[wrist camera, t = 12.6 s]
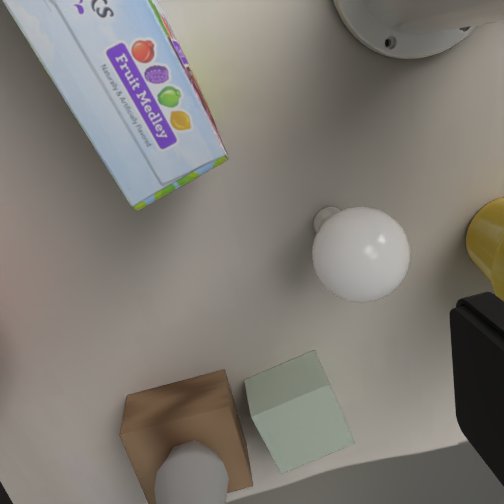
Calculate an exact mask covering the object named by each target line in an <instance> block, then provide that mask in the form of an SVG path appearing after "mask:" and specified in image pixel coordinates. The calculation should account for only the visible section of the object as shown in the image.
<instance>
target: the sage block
mask: <svg viewBox="0 0 504 504" xmlns="http://www.w3.org/2000/svg"><path fill="white" fill-rule="evenodd" d="M244 382H245V387H246V393H247V398H248V403H249V409H250V414H251V418H252V420H253V422H254V424H255V426H256V427H257V429H258V431H259V433H260V435H261V437H262V439H263V441H264V442H265V444H266V446H267V448H268V450H269V452H270V454H271V455H272V457H273V459H274V461H275V463H276V465H277V467H278V469H279V470H280V472H281V474H283V473H285V472H288V471H290V470H293V469H295V468H297V467H300V466H302V465H304V464H307V463H309V462H311V461H314V460H316V459H319V458H321V457H323V456H326V455H328V454H330V453H333V452H335V451H338V450H340V449H342V448H345V447H347V446H349V445H352V444H354V443H355V441H354V439H353V437H352V434H351V432H350V430H349V427H348V425H347V423H346V420H345V418H344V416H343V413H342V411H341V409H340V406H339V404H338V402H337V399H336V397H335V395H334V392H333V390H332V388H331V385H330V383H329V381H328V379H327V377H326V374H325V372H324V370H323V368H322V366H321V364H320V361H319V359H318V357H317V355H316V353H315V350H313V351H311V352H308V353H306V354H304V355H301V356H299V357H297V358H294V359H292V360H290V361H287V362H285V363H283V364H280V365H278V366H276V367H273V368H271V369H269V370H266V371H264V372H262V373H259V374H257V375H255V376H252V377H250V378H248V379H245V380H244Z"/></svg>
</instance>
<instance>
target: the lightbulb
mask: <svg viewBox="0 0 504 504" xmlns="http://www.w3.org/2000/svg"><path fill="white" fill-rule="evenodd" d="M314 229H315V232H316V233H317V235H316V237H315V239H314V243H313V248H312V261H313V266H314V270H315V272H316V275H317V277H318V278H319V280H320V281H321V283H322V284H323V285H324V286H325V288H326V289H328V290H329V291H330V292H331V293H332V294H334V295H336V296H337V297H339V298H341V299H344V300H347V301H351V302H357V303H365V302H372V301H376V300H379V299H381V298H384V297H385V296H387V295H389V294H390V293H392V292H393V291H394V290H395V289H396V288H397V287H398V286H399V285H400V284H401V282H402V281H403V279H404V278H405V276H406V274H407V271H408V268H409V265H410V257H411V253H410V245H409V241H408V238H407V236H406V234H405V232H404V230H403V229H402V227H401V226H400V225H399V223H398V222H397V221H396V220H395V219H394V218H392V217H391V216H390V215H388V214H386V213H385V212H383V211H380V210H378V209H375V208H370V207H352V208H348V209H345V210H342V211H341V210H340V209H338V208H336V207H327V208H324V209H322V210H321V211H319V212H318V213H317V215H316V217H315V219H314Z"/></svg>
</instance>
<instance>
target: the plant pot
mask: <svg viewBox="0 0 504 504" xmlns="http://www.w3.org/2000/svg"><path fill="white" fill-rule="evenodd" d="M466 248H467V252H468V254H469V256H470V258H471V259H472V260H473V262H474V263H475V264H476V265H477V266H478V268H479V269H480V270H481V271H482V272H483V273H484V274H485V276H486V277H487V278H488V279H489V280H490V281H491V283H492V285H493V289H494V292H495V295H496V296H497V297H498V298H500V299H501V300H502V301H504V197H502V198H498V199H496V200H493V201H492V202H490V203H488V204H487V205H485V206H484V207H483V208H482V209H480V210H479V211H478V213H477V214H476V215H475V216H474V218H473V219H472V221H471V223H470V225H469V227H468V230H467V235H466Z"/></svg>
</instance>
